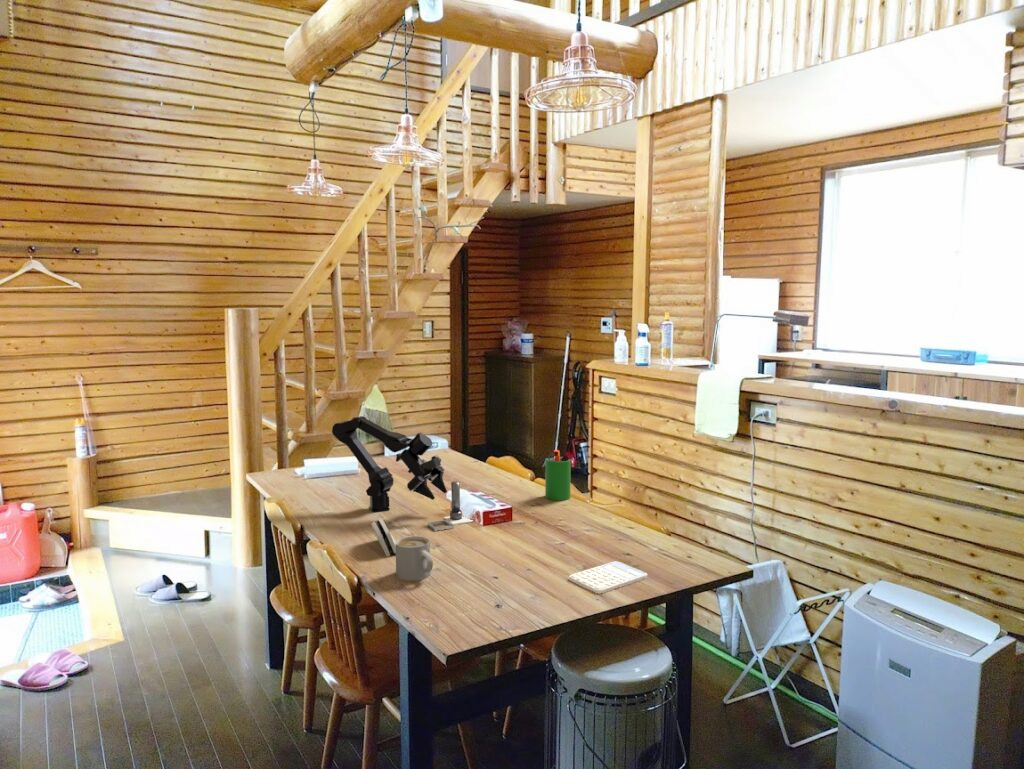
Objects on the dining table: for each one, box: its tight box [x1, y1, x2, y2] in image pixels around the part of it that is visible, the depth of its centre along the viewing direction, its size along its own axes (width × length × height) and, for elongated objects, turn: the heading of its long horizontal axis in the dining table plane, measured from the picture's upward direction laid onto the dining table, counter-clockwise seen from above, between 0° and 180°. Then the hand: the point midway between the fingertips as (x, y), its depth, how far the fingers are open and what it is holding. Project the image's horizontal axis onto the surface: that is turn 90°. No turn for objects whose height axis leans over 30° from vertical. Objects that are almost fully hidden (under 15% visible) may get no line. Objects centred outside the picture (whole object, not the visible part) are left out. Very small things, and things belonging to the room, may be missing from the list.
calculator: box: [568, 560, 648, 595], centre depth 204 cm, size 13×20×2 cm, turn 126°
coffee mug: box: [395, 535, 434, 582], centre depth 206 cm, size 13×10×10 cm
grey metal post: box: [449, 480, 463, 520], centre depth 258 cm, size 4×4×14 cm
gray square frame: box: [427, 519, 455, 532], centre depth 250 cm, size 7×7×1 cm
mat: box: [443, 515, 473, 526], centre depth 258 cm, size 9×9×1 cm
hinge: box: [371, 518, 397, 557], centre depth 230 cm, size 17×5×10 cm, turn 20°
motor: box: [544, 449, 572, 501], centre depth 285 cm, size 10×9×20 cm
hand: (440, 495), depth 260 cm, fingers open, 9 cm apart
